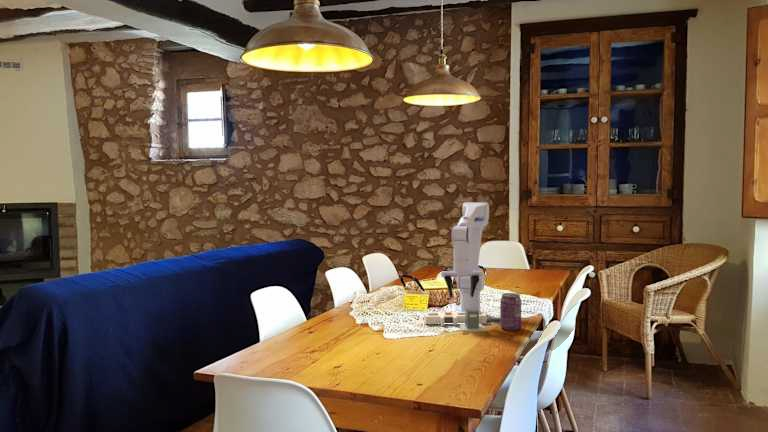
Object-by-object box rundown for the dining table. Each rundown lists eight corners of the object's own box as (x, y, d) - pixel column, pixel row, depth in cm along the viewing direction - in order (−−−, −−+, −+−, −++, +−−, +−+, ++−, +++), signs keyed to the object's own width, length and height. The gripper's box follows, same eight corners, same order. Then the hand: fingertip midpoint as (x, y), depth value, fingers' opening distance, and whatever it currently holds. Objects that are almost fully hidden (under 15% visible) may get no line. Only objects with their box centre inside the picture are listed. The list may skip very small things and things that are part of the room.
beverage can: (519, 326, 215) (519, 292, 214) (522, 331, 208) (522, 297, 207) (499, 325, 216) (499, 292, 215) (501, 331, 209) (501, 296, 208)
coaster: (458, 325, 216) (458, 324, 216) (480, 325, 217) (480, 323, 217) (462, 331, 208) (462, 330, 208) (485, 331, 209) (485, 329, 209)
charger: (463, 323, 217) (463, 306, 217) (474, 323, 218) (474, 306, 217) (467, 328, 210) (467, 311, 210) (478, 328, 210) (478, 311, 210)
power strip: (424, 320, 224) (424, 311, 224) (499, 319, 225) (499, 309, 225) (426, 326, 215) (426, 316, 215) (504, 325, 217) (504, 315, 216)
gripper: (443, 261, 213) (443, 299, 214) (483, 260, 214) (483, 298, 215) (440, 258, 220) (440, 295, 221) (479, 257, 221) (479, 294, 222)
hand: (461, 296), depth 219 cm, fingers open, 7 cm apart
